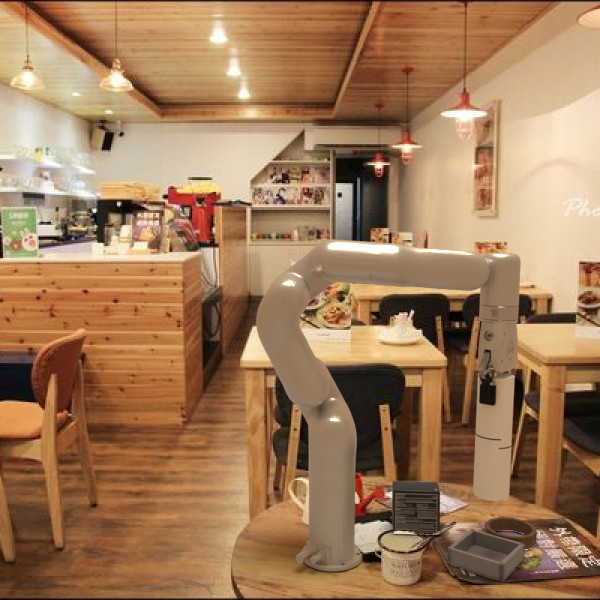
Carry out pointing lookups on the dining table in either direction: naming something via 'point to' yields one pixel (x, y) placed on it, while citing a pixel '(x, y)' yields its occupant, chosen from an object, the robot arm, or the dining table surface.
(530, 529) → the collar
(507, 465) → the cylindrical container
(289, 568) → the dining table surface
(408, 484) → the small box
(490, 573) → the tray
